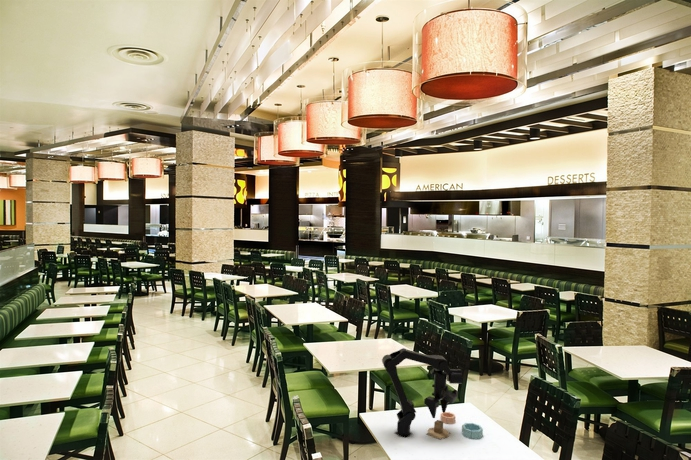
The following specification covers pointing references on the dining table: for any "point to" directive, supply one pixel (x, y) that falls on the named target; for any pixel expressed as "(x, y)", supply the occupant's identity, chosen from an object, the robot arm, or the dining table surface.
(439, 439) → the mat
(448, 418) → the small bowl
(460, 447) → the dining table surface
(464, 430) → the bowl
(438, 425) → the lid
